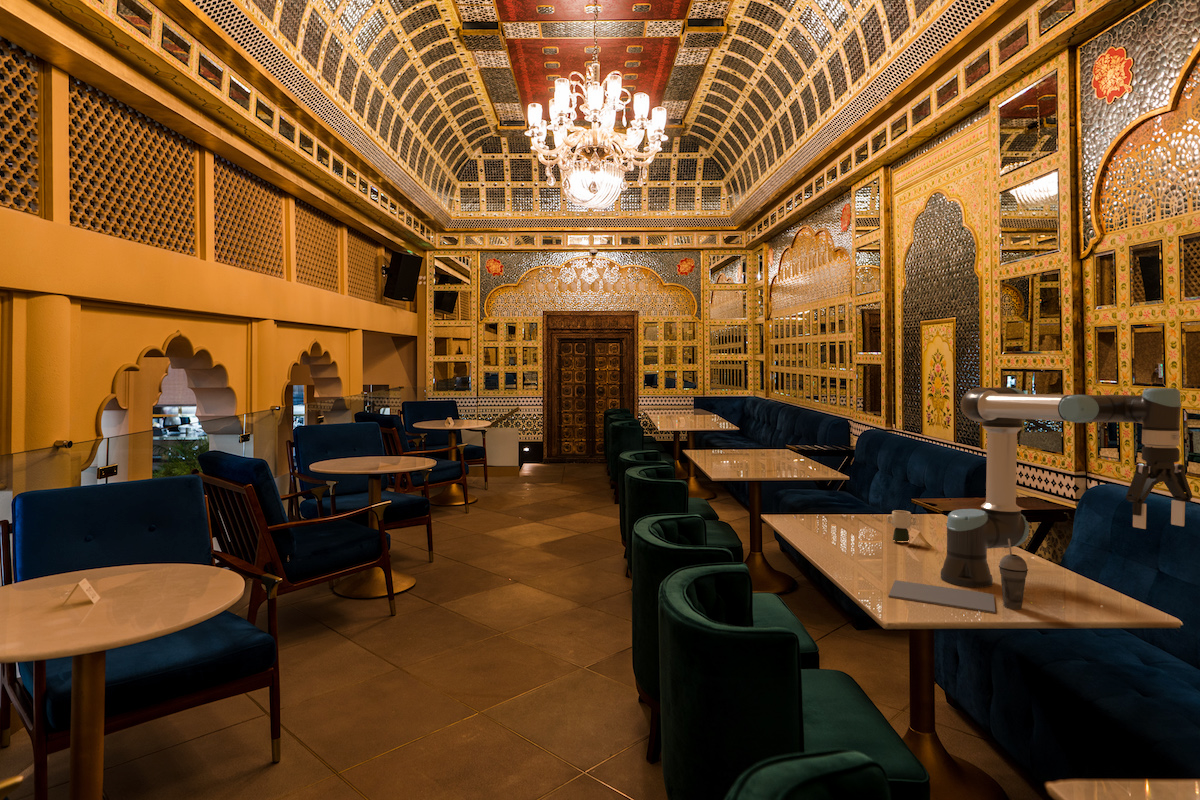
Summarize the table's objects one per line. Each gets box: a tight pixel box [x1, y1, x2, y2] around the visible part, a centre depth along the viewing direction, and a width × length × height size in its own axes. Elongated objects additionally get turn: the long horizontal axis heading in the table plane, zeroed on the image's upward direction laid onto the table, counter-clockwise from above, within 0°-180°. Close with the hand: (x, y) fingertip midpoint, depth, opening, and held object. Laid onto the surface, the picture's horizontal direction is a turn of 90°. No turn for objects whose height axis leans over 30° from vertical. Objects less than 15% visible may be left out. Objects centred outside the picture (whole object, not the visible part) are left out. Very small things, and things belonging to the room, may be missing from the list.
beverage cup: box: [998, 539, 1029, 611], centre depth 189 cm, size 7×7×20 cm
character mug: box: [886, 509, 917, 542], centre depth 267 cm, size 11×7×13 cm, turn 69°
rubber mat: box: [888, 579, 996, 614], centre depth 198 cm, size 28×18×1 cm, turn 60°
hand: (1158, 526), depth 170 cm, fingers open, 13 cm apart
